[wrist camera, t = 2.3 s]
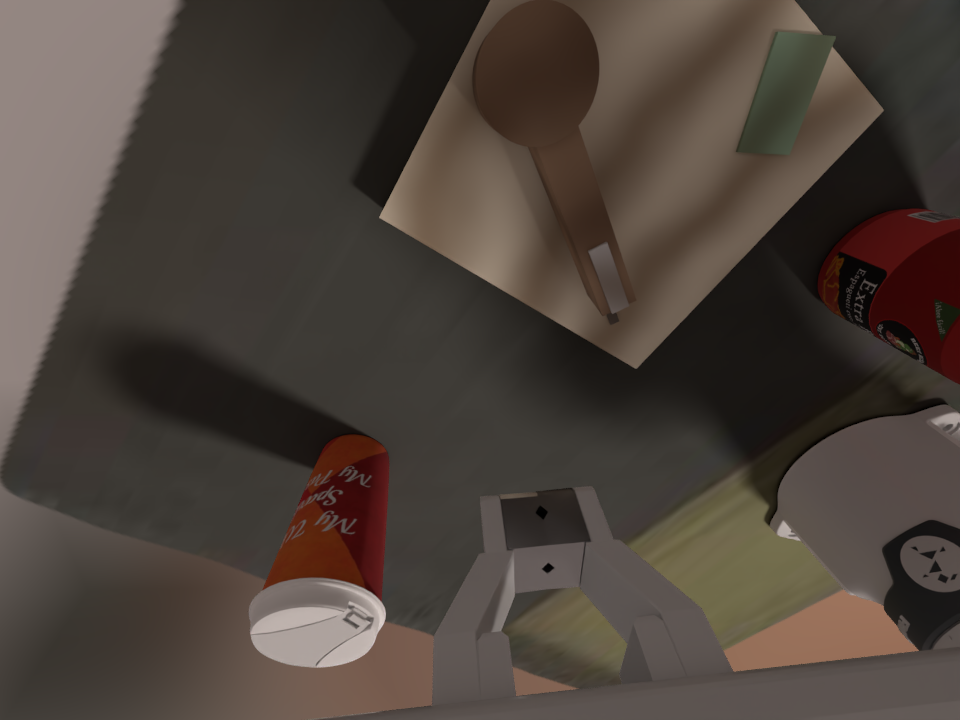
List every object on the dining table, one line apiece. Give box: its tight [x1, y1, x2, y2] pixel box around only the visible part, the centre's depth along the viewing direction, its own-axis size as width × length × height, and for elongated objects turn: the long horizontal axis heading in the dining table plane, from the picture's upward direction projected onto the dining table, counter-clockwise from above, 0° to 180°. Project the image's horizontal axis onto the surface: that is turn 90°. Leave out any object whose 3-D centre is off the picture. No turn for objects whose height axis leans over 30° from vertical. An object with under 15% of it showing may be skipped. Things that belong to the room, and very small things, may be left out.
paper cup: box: [249, 434, 389, 667], centre depth 30 cm, size 8×8×14 cm
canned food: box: [817, 209, 960, 384], centre depth 25 cm, size 8×8×11 cm
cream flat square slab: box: [379, 0, 884, 369], centre depth 24 cm, size 20×19×2 cm
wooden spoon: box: [472, 0, 637, 316], centre depth 21 cm, size 14×5×4 cm, turn 27°
